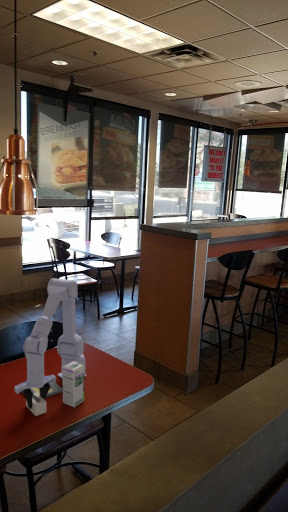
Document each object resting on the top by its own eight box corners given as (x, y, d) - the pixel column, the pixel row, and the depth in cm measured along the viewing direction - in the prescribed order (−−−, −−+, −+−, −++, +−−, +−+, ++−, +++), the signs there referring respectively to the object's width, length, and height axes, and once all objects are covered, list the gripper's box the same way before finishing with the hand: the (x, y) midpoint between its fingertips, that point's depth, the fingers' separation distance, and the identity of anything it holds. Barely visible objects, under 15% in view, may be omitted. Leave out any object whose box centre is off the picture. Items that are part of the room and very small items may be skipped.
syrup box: (74, 407, 143) (74, 370, 141) (62, 402, 146) (62, 365, 144) (84, 401, 148) (85, 364, 146) (72, 396, 151) (72, 360, 149)
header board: (50, 380, 162) (50, 371, 162) (63, 391, 154) (63, 382, 153) (19, 390, 154) (19, 380, 154) (31, 402, 146) (31, 392, 145)
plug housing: (36, 402, 146) (36, 390, 145) (46, 412, 140) (46, 399, 139) (26, 405, 144) (25, 393, 143) (35, 416, 138) (35, 403, 137)
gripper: (20, 380, 132) (21, 417, 134) (59, 368, 141) (59, 403, 143) (11, 371, 137) (12, 408, 139) (50, 361, 146) (50, 395, 148)
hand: (36, 405), depth 142 cm, fingers closed on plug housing, 4 cm apart
